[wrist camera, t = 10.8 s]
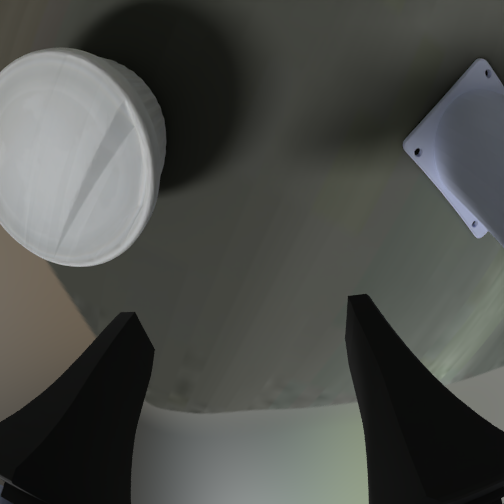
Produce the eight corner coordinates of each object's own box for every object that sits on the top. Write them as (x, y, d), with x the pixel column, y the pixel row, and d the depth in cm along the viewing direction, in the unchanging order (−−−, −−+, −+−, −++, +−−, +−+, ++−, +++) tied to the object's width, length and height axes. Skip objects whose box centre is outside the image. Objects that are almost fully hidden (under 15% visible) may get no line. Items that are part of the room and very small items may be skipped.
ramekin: (182, 229, 20) (158, 284, 15) (38, 213, 19) (-4, 255, 15) (192, 41, 13) (160, 34, 9) (23, 58, 13) (-36, 71, 9)
